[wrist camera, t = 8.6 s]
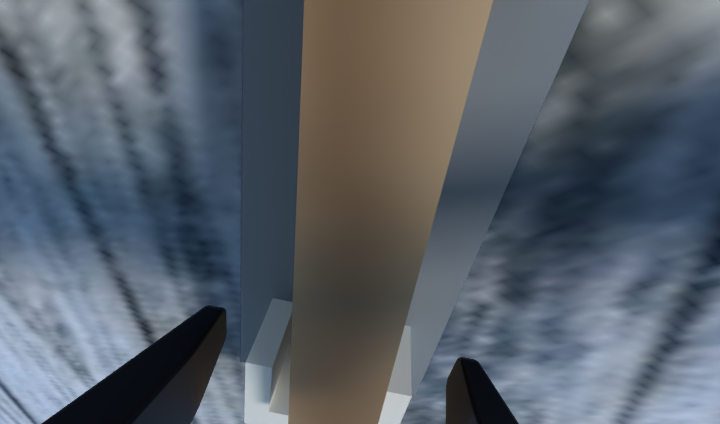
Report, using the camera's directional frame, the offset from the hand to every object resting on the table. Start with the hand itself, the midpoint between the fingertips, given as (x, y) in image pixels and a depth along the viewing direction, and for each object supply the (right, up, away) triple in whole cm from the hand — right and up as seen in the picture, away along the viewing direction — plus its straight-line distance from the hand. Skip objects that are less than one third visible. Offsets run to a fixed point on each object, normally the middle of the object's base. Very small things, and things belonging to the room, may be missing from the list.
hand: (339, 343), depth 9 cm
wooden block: (+1, +4, +7) cm, 8 cm away
